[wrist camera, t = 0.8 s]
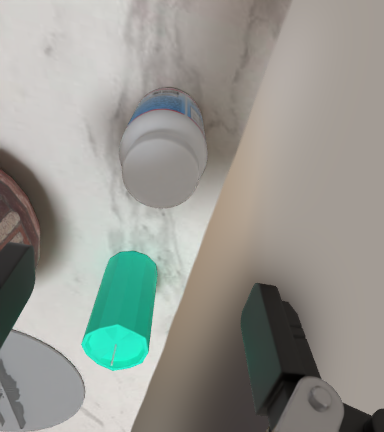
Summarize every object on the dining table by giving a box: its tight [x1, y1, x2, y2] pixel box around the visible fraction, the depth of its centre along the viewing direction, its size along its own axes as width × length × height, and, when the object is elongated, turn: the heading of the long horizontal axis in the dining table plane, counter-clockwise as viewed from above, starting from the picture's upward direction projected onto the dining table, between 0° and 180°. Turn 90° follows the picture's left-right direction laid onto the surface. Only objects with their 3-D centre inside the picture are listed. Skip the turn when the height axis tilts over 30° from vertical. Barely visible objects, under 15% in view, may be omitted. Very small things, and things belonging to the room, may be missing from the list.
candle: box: [81, 251, 158, 371], centre depth 33 cm, size 6×6×12 cm
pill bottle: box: [119, 88, 207, 208], centre depth 24 cm, size 6×6×11 cm
